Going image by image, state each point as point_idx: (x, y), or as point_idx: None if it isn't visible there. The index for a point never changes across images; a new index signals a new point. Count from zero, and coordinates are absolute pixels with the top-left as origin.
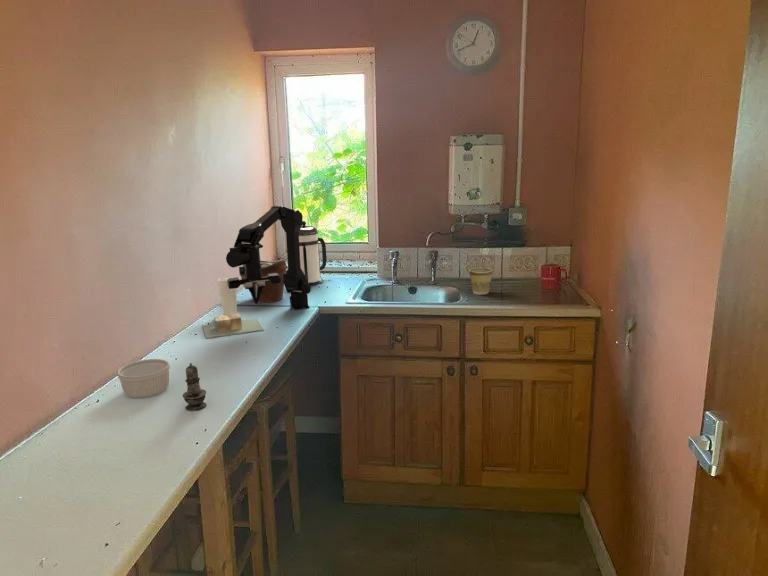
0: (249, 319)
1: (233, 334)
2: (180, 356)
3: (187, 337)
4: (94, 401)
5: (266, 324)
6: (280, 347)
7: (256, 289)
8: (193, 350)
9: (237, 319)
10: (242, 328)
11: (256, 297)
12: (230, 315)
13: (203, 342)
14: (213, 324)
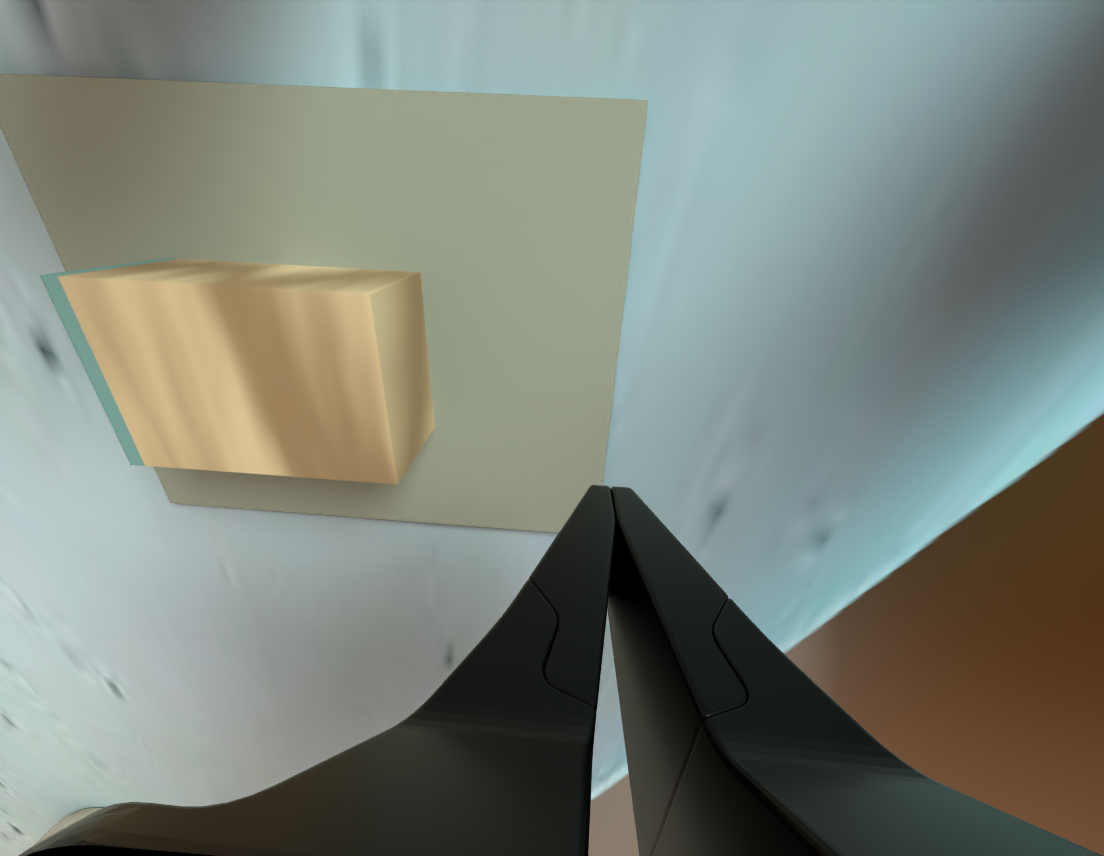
0: (548, 121)
1: (367, 513)
2: (123, 674)
3: (5, 398)
4: (7, 828)
5: (671, 387)
6: (596, 770)
7: (678, 826)
8: (162, 637)
9: (364, 475)
10: (438, 431)
11: (616, 637)
12: (262, 320)
13: (181, 553)
14: (111, 112)
